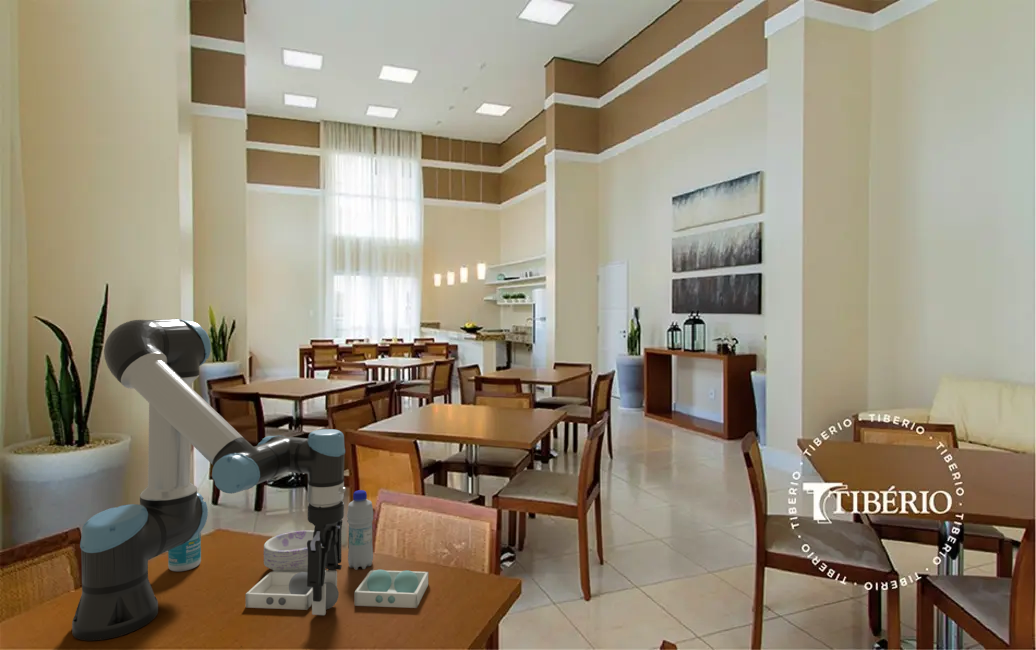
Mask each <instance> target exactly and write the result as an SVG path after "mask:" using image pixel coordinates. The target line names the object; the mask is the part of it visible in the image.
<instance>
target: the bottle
mask: <svg viewBox="0 0 1036 650" xmlns="http://www.w3.org/2000/svg"><path fill="white" fill-rule="evenodd" d="M367 497H368V494H367V491H366V490H363V489H359V490H355V491H354V492H353V499H352V501H350V502H349V503H348V505H347V506H348V507H347V513H346V520H347V521H346V522H347V525H348V549H347V550H348V552H347V562H348V567H349V568H350V569H352V568H353V569H354V570H355V571H356V570H359V567H360V568H361V569H362V570H365V569H367V567H371V566H372V565H373V560H374V547H373V520H374V513H375V512H374V509H373V502H372V500H369V499H368V498H367Z"/></svg>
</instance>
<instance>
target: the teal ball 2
mask: <svg viewBox="0 0 1036 650" xmlns="http://www.w3.org/2000/svg"><path fill="white" fill-rule="evenodd" d="M401 571H402V572H400V573H399V574H398V575H397V576H396V578H395V582H394V587H395V590H396V592H403V593H414V592H415V591H416V589H417V587H418V578H417V576H416V574H415V573H414V572H412V571H411V570H408V569H407V570H401Z"/></svg>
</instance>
